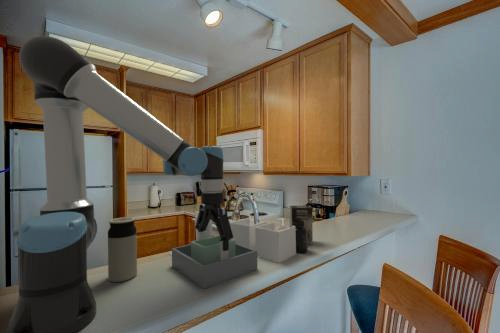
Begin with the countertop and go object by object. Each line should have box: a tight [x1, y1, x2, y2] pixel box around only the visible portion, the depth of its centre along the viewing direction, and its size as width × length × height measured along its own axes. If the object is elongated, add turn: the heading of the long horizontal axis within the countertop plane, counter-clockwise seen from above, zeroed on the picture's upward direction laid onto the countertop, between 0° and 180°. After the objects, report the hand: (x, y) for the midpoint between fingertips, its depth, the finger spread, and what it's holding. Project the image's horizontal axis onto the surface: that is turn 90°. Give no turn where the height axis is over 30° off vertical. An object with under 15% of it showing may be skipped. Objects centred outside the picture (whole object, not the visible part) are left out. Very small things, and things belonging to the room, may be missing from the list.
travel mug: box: [107, 216, 138, 283], centre depth 77 cm, size 8×8×18 cm
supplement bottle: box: [292, 220, 309, 254], centre depth 98 cm, size 7×7×12 cm
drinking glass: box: [194, 214, 213, 240], centre depth 98 cm, size 7×7×15 cm
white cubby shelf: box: [229, 218, 297, 263], centre depth 98 cm, size 25×11×11 cm, turn 48°
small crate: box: [190, 234, 236, 266], centre depth 83 cm, size 12×9×8 cm
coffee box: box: [289, 205, 314, 246], centre depth 108 cm, size 9×6×16 cm
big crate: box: [171, 243, 258, 290], centre depth 83 cm, size 20×22×6 cm
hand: (212, 254), depth 83 cm, fingers open, 13 cm apart
